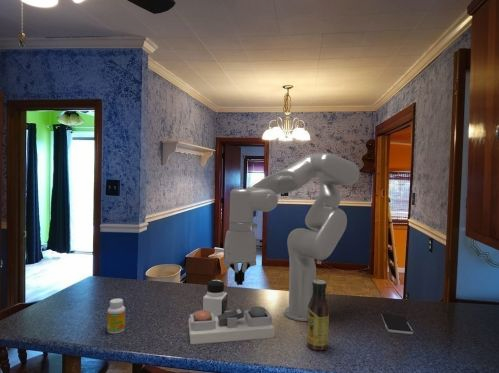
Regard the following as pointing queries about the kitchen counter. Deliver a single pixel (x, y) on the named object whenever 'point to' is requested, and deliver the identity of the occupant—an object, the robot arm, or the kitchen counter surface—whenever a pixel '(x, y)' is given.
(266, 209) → the robot arm
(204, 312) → the terracotta button
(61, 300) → the kitchen counter surface
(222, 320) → the block
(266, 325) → the switch panel
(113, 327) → the supplement bottle
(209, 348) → the kitchen counter surface
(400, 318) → the smartphone
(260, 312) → the slate button
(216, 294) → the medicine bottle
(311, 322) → the sauce bottle
